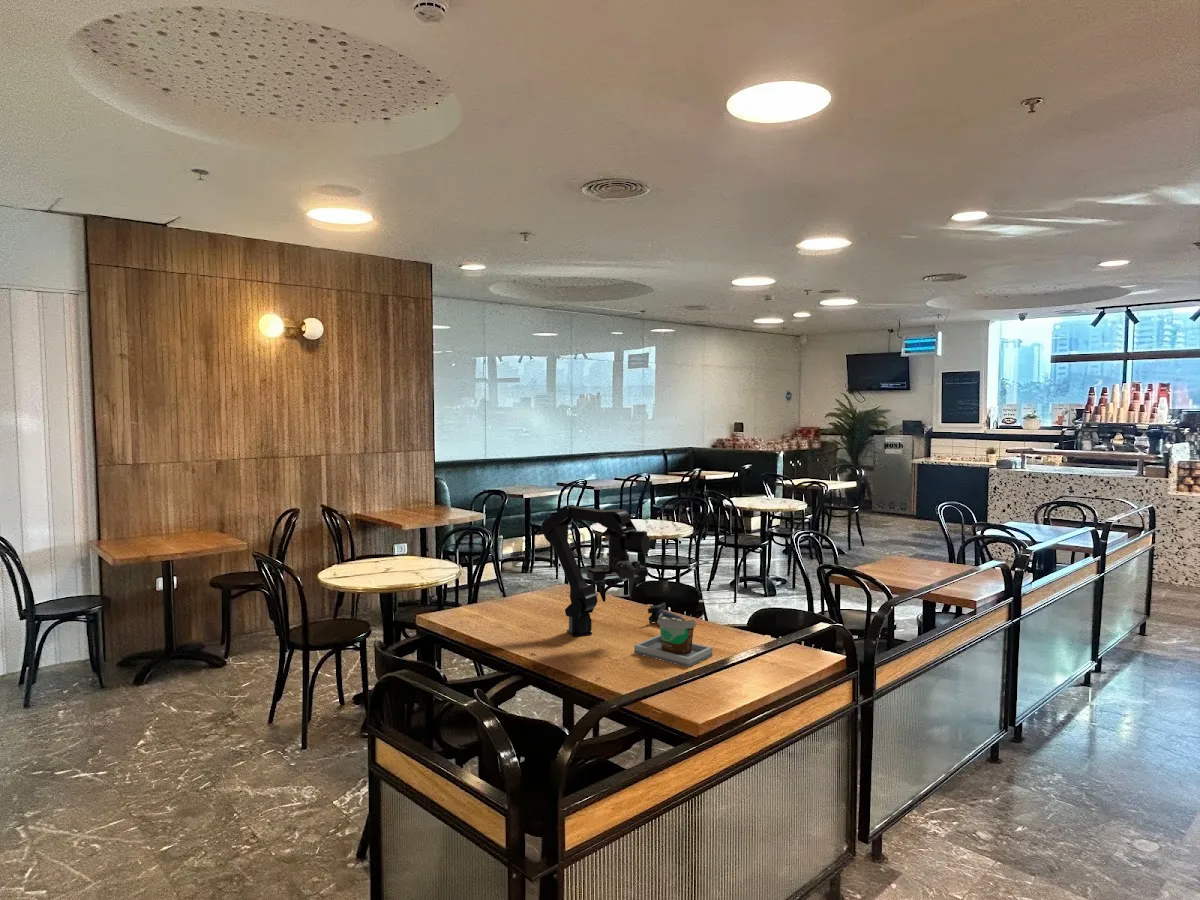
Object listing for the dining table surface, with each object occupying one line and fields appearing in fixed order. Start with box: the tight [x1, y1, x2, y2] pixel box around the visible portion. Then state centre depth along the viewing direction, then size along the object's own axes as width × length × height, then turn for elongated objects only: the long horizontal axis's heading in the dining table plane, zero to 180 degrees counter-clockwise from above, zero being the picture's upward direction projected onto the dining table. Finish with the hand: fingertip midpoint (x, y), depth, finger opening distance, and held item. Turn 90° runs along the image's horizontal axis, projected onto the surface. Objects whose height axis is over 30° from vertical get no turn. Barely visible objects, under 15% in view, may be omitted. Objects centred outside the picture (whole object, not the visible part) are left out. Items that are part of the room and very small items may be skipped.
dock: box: [633, 634, 713, 668], centre depth 217 cm, size 13×19×2 cm
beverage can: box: [647, 601, 685, 624], centre depth 247 cm, size 9×8×12 cm
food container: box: [657, 613, 696, 654], centre depth 216 cm, size 12×6×10 cm, turn 51°
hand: (617, 600), depth 229 cm, fingers open, 9 cm apart
